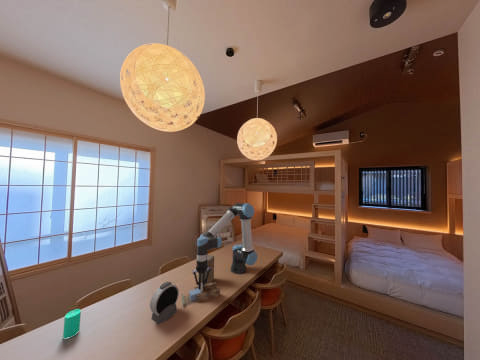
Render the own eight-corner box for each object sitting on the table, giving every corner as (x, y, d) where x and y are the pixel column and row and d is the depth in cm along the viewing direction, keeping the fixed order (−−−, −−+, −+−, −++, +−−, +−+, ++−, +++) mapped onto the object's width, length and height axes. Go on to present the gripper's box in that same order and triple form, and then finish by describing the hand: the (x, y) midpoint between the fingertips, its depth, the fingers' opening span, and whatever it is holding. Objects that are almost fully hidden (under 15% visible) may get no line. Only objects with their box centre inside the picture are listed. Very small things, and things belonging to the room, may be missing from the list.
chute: (215, 288, 125) (215, 281, 125) (219, 296, 115) (220, 289, 115) (181, 297, 114) (181, 290, 114) (183, 307, 104) (183, 299, 104)
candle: (70, 329, 87) (72, 306, 87) (82, 329, 87) (84, 305, 88) (59, 340, 81) (61, 314, 81) (72, 339, 81) (73, 314, 82)
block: (199, 293, 117) (199, 287, 117) (201, 298, 112) (201, 292, 112) (189, 296, 114) (189, 290, 114) (190, 301, 108) (190, 295, 109)
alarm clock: (156, 327, 88) (158, 293, 90) (146, 319, 94) (148, 287, 95) (181, 309, 102) (182, 279, 103) (171, 303, 107) (172, 275, 109)
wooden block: (209, 286, 127) (210, 260, 129) (198, 284, 129) (198, 259, 131) (214, 279, 137) (214, 255, 139) (203, 278, 139) (203, 254, 141)
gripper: (209, 256, 123) (208, 288, 121) (191, 259, 117) (190, 293, 115) (212, 259, 116) (211, 294, 114) (193, 263, 110) (192, 299, 108)
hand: (201, 293), depth 115 cm, fingers closed
